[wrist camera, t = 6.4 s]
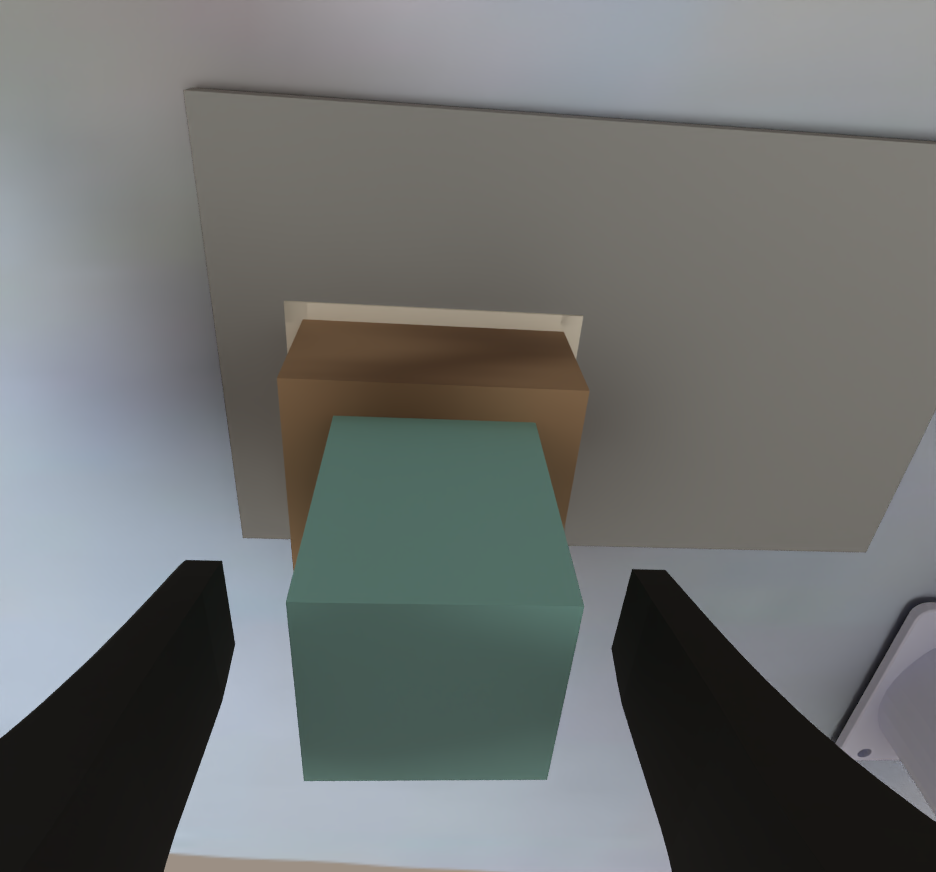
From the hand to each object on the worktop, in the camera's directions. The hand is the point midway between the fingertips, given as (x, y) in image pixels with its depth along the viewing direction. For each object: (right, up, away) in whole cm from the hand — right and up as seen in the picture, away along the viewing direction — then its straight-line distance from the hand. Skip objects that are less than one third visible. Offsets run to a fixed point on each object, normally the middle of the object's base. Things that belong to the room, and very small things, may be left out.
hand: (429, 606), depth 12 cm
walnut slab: (0, +3, +5) cm, 6 cm away
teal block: (0, +2, +2) cm, 3 cm away
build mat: (+4, +5, +5) cm, 8 cm away
